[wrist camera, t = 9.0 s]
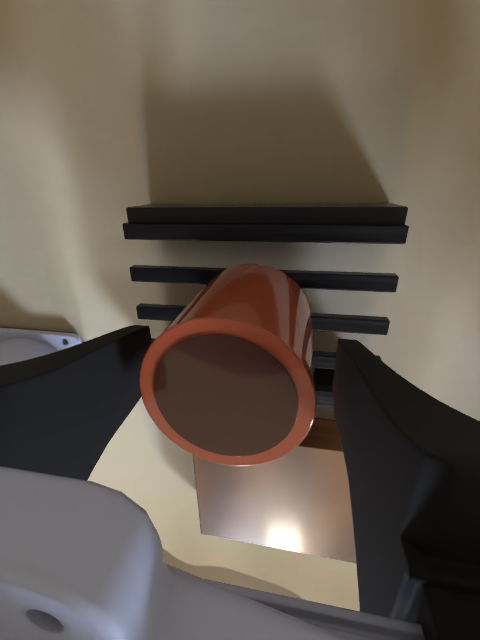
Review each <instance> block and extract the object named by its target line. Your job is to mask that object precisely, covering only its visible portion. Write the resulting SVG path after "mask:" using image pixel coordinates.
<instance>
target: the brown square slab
mask: <svg viewBox="0 0 480 640" xmlns="http://www.w3.org/2000/svg"><path fill="white" fill-rule="evenodd" d="M193 460H194V470H195V480H196V489H197V499H198V508H199V518H200V527H201V534H205V535H210V536H215V537H221V538H226V539H231V540H236V541H242V542H247V543H252V544H257V545H263V546H268V547H273V548H279V549H284V550H289V551H294V552H300V553H305V554H310V555H315V556H321V557H326V558H331V559H336V560H342V561H347V562H352V563H356V551H355V540H354V529H353V519H352V508H351V499H350V490H349V481H348V474H347V469H346V463H345V459H344V454H343V450H342V445H341V440H340V436H339V431H338V426H337V422H336V421H331V420H322V419H314V421H313V424H312V426H311V429H310V430H309V432H308V434H307V435H306V437H305V438H304V439H303V441H302V442H301V443H300V444H299V445H298V446H297V447H296V448H295V449H293V450H292V451H291V452H289V453H288V454H286V455H285V456H283V457H281V458H278V459H276V460H274V461H271V462H268V463H264V464H259V465H251V466H232V465H224V464H219V463H215V462H211V461H208V460H205V459H203V458H200V457H197V456H195V455H193Z"/></svg>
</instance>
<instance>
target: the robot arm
mask: <svg viewBox="0 0 480 640" xmlns="http://www.w3.org/2000/svg"><path fill="white" fill-rule="evenodd" d="M66 340H67V341H68V342H67V341H66ZM151 344H152V342H151V335H150V328H149V326H140V325H133V326H129V327H125V328H122V329H119V330H116V331H113V332H110V333H108V334H105V335H102V336H100V337H97V338H94V339H92V340H89V341H86V342H83V343H82V341H81V338H80V337H79V336H78V335H77V334H74V333H63V332H51V331H38V330H25V329H12V328H0V640H480V421H478V420H475V419H473V418H471V417H469V416H467V415H465V414H463V413H461V412H459V411H457V410H455V409H453V408H451V407H449V406H448V405H446V404H444V403H442V402H440V401H438V400H437V399H435V398H433V397H432V396H430V395H429V394H427V393H425V392H424V391H422V390H420V389H419V388H417V387H416V386H414V385H413V384H411V383H410V382H408V381H407V380H406V379H404V378H403V377H401V376H400V375H399V374H397V373H396V372H395V371H393V370H392V369H391V368H390V367H388V366H387V365H386V364H385V363H383V362H382V361H381V360H380V359H379V358H377V357H376V356H375V355H374V354H373V353H372V352H370V351H369V350H368V349H367V348H366V347H365V346H364V345H362V344H361V343H360V342H359V341H357V340H348V339H339V340H338V348H337V356H336V363H335V371H334V379H333V402H334V412H335V417H336V422H337V426H338V431H339V436H340V440H341V445H342V450H343V454H344V459H345V463H346V469H347V474H348V481H349V490H350V499H351V508H352V519H353V529H354V540H355V551H356V563H357V576H358V588H359V602H360V612H359V611H354V610H349V609H345V608H340V607H335V606H331V605H326V604H321V603H316V602H312V601H307V600H302V599H297V598H292V597H288V596H283V595H278V594H274V593H269V592H264V591H259V590H255V589H250V588H245V587H240V586H236V585H231V584H226V583H222V582H217V581H212V580H207V579H202V578H200V577H197V576H195V575H193V574H190V573H188V572H185V571H183V570H181V569H178V568H176V567H173V566H171V565H168V564H165V561H164V555H163V550H162V545H161V540H160V537H159V535H158V533H157V530H156V529H155V527H154V525H153V523H152V521H151V520H150V518H149V516H148V514H147V512H146V511H145V510H144V509H143V508H142V507H140V506H139V505H138V504H136V503H135V502H134V501H133V500H131V499H130V498H129V497H127V496H126V495H125V494H123V493H122V492H120V491H117V490H115V489H112V488H109V487H106V486H103V485H100V484H98V483H95V482H92V481H87V480H88V478H89V476H90V474H91V472H92V470H93V469H94V467H95V465H96V463H97V462H98V460H99V458H100V456H101V455H102V453H103V451H104V449H105V448H106V446H107V444H108V443H109V441H110V440H111V438H112V437H113V435H114V434H115V432H116V431H117V430H118V428H119V427H120V426H121V424H122V423H123V421H124V420H125V419H126V417H127V416H128V415H129V413H130V412H131V410H132V409H133V408H134V406H135V405H136V403H137V402H138V401H139V399H140V398H141V396H142V395H141V391H140V382H139V380H140V369H141V364H142V361H143V358H144V356H145V353H146V352H147V350H148V348H149V346H150V345H151Z"/></svg>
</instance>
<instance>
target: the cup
mask: <svg viewBox="0 0 480 640" xmlns="http://www.w3.org/2000/svg"><path fill="white" fill-rule="evenodd" d="M139 382H140V391H141V395H142V399H143V402H144V405H145V407H146V409H147V411H148V413H149V415H150V417H151V418H152V420H153V421H154V423H155V424H156V425H157V427H158V428H159V429H160V430H161V431H162V432H163V433H164V434H165V435H166V436H167V437H168V438H169V439H170V440H171V441H173V442H174V443H175V444H177V445H178V446H179V447H181V448H183V449H184V450H186V451H187V452H189V453H191V454H193V455H195V456H197V457H200V458H203V459H205V460H208V461H211V462H215V463H219V464H224V465H232V466H251V465H259V464H264V463H268V462H271V461H274V460H276V459H278V458H281V457H283V456H285V455H286V454H288V453H289V452H291V451H292V450H293V449H295V448H296V447H297V446H298V445H299V444H300V443H301V442H302V441H303V439H304V438H305V437H306V435H307V434H308V432H309V430H310V429H311V426H312V424H313V421H314V418H315V413H316V384H315V368H314V351H313V335H312V318H311V310H310V306H309V303H308V300H307V298H306V296H305V294H304V293H303V291H302V289H301V288H300V287H299V286H298V285H297V283H296V282H295V281H294V280H292V279H291V278H290V277H289V276H287V275H286V274H285V273H283V272H281V271H279V270H277V269H275V268H272V267H269V266H265V265H261V264H242V265H237V266H233V267H230V268H228V269H226V270H224V271H222V272H221V273H219V274H217V275H216V276H215V277H214V278H213V279H212V280H211V281H210V282H209V283H208V284H207V285H206V286H205V287H204V288H203V289H202V290H201V291H200V292H199V293H198V294H197V295H196V297H195V298H194V299H193V300H192V301H191V302H190V303H189V304H188V305H187V306H186V307H185V308H184V309H183V310H182V311H181V312H180V314H179V315H178V316H177V317H176V318H175V319H174V320H173V321H172V322H171V323H170V324H169V325H168V326H167V327H166V328H165V329H164V330H163V332H162V333H161V334H160V335H159V336H158V337H157V338H156V339H155V340H154V341H153V343H152V344H151V345H150V346H149V348H148V350H147V352H146V353H145V356H144V358H143V361H142V364H141V369H140V380H139Z"/></svg>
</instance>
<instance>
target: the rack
mask: <svg viewBox="0 0 480 640" xmlns="http://www.w3.org/2000/svg"><path fill="white" fill-rule="evenodd" d="M126 210H127V217H128V223H124V224H123V230H124V237H125V239H138V240H197V241H256V242H315V243H374V244H405V243H406V238H407V233H408V228H409V226H407V225H405V221H406V216H407V211H408V208H407V207H406V206H401V205H397V204H393V203H282V204H148V205H141V206H134V207H128V208H127V209H126ZM226 269H228V268H208V267H178V266H147V265H134V266H132V267H130V273H131V280H132V281H140V282H163V283H186V284H208V283H209V282H210V281H211V280H212V279H213V278H214V277H215V276H216V275H217V274H219V273H221V272H222V271H224V270H226ZM279 271H281V272H283V273H285V274H286V275H287V276H289V277H290V278H291V279H292V280H294V281H295V282H296V283H297V285H298V286H299V287H300V288H304V289H327V290H351V291H374V292H396V288H397V283H398V278H399V277H398V276H397V275H396V274H392V273H361V272H331V271H300V270H279ZM185 307H186V306H178V305H160V304H142V303H141V304H139V305H138V306H136V310H137V316H138V319H150V320H165V321H173V320H174V319H175V318H176V317H177V316H178V315H179V314H180V312H181V311H182V310H183V309H184V308H185ZM311 318H312V330H318V331H333V332H348V333H364V334H379V335H387V333H388V328H389V323H390V321H389V319H388V318H387V317H374V316H356V315H338V314H320V313H311ZM154 340H155V339H154V338H151V342H152V343H153V341H154ZM336 356H337V352H324V351H314V368H315V384H316V405H321V406H331V407H334V402H333V379H334V371H335V363H336ZM375 356H376V355H375ZM376 357H377V358H379V359H380V360H381V358H380V356H376ZM381 361H382V360H381Z"/></svg>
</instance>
